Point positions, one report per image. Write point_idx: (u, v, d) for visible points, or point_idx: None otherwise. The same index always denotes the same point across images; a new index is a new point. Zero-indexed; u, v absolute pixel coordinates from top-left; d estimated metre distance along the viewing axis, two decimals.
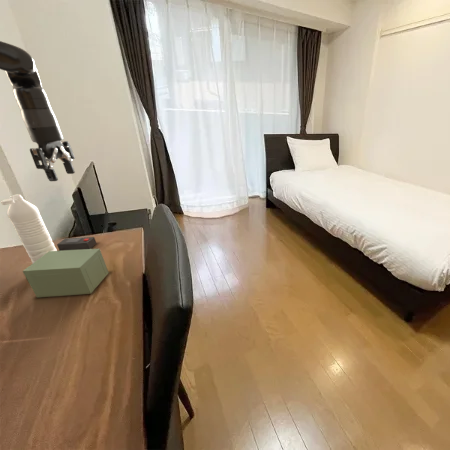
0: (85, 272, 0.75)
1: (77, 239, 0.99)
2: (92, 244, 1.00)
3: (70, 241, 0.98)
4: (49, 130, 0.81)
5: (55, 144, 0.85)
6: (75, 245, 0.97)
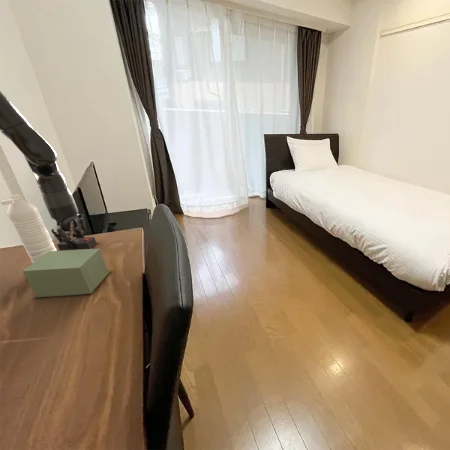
0: (85, 272, 0.75)
1: (77, 239, 0.99)
2: (92, 244, 1.00)
3: None
4: (67, 208, 0.91)
5: (71, 217, 0.95)
6: None
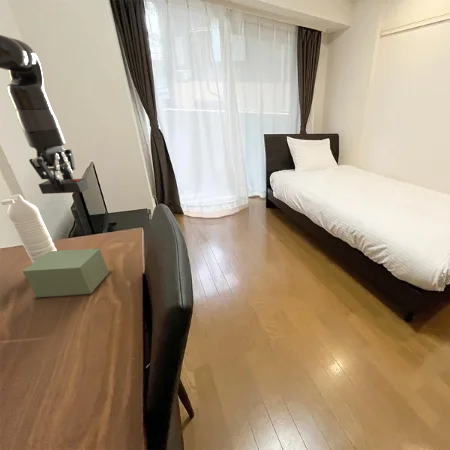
0: (85, 272, 0.75)
1: (64, 180, 0.79)
2: (84, 187, 0.80)
3: None
4: (49, 133, 0.71)
5: (56, 149, 0.75)
6: None
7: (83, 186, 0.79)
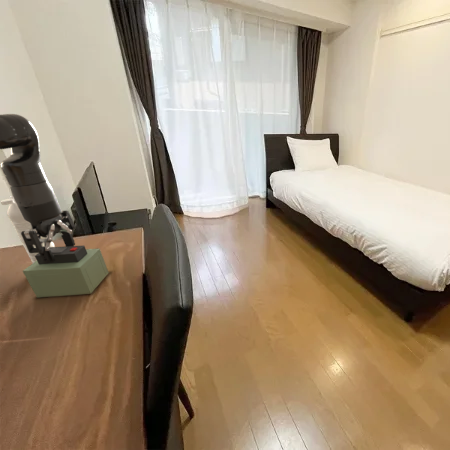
0: (85, 272, 0.75)
1: (62, 248, 0.76)
2: (81, 255, 0.77)
3: (52, 251, 0.74)
4: (45, 207, 0.68)
5: (52, 218, 0.72)
6: (59, 257, 0.74)
7: (81, 254, 0.76)
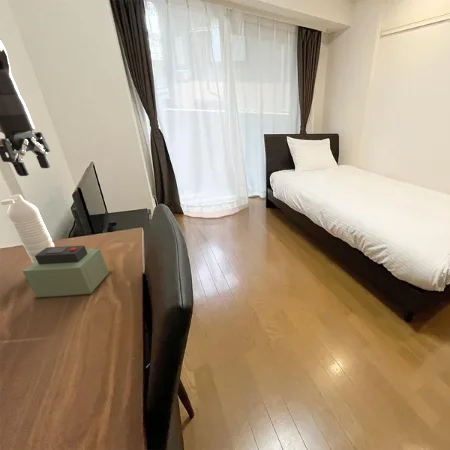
0: (85, 272, 0.75)
1: (62, 248, 0.76)
2: (81, 255, 0.77)
3: (52, 251, 0.74)
4: (17, 118, 0.72)
5: (26, 134, 0.77)
6: (59, 257, 0.74)
7: (81, 254, 0.76)
